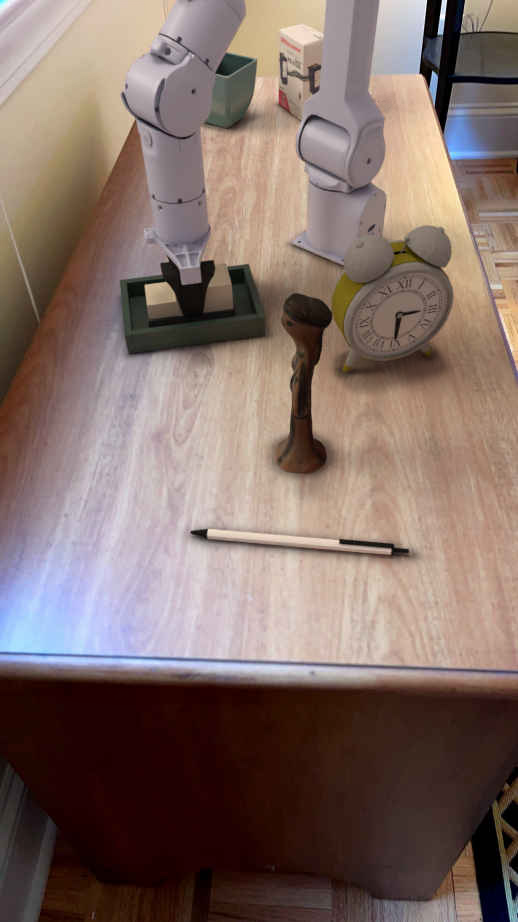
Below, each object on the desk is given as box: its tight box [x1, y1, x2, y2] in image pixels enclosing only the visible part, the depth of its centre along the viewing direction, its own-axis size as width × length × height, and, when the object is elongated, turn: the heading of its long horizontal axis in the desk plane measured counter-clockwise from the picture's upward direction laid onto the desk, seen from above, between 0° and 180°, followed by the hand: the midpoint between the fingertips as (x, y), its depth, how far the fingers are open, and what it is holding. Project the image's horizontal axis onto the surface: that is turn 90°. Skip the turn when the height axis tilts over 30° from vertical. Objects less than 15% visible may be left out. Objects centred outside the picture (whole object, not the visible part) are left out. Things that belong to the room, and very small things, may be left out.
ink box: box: [277, 23, 324, 121], centre depth 113 cm, size 8×5×12 cm, turn 28°
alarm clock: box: [330, 224, 454, 373], centre depth 70 cm, size 12×7×15 cm, turn 106°
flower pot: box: [204, 51, 258, 129], centre depth 112 cm, size 9×9×9 cm
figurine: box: [275, 292, 333, 474], centre depth 60 cm, size 7×5×18 cm
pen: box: [187, 528, 410, 556], centre depth 59 cm, size 1×19×1 cm, turn 83°
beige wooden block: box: [145, 263, 236, 328], centre depth 79 cm, size 10×4×5 cm, turn 100°
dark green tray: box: [119, 263, 266, 355], centre depth 80 cm, size 16×11×3 cm
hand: (190, 301), depth 80 cm, fingers open, 5 cm apart
